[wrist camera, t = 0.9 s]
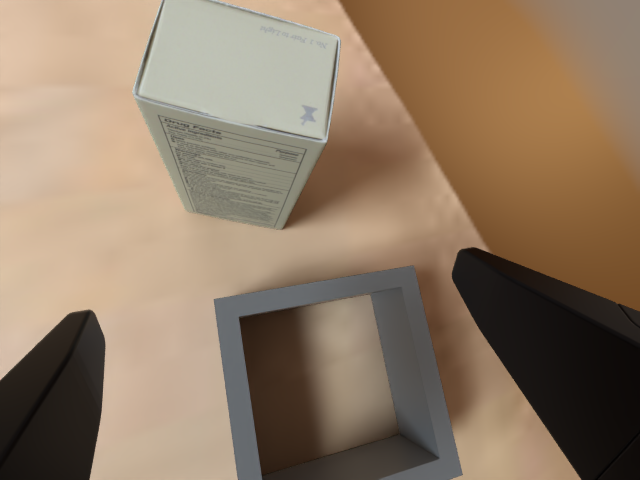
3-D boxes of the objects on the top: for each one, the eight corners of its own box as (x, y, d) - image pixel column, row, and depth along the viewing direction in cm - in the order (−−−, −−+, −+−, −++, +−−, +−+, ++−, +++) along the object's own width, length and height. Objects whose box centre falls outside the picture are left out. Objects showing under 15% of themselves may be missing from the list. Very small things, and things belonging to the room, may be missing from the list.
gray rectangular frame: (418, 447, 23) (462, 474, 18) (243, 502, 20) (247, 550, 16) (381, 276, 25) (413, 265, 20) (216, 304, 22) (213, 299, 18)
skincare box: (293, 170, 25) (350, 34, 13) (282, 234, 24) (334, 146, 12) (195, 147, 24) (164, -24, 12) (178, 214, 22) (127, 95, 11)
